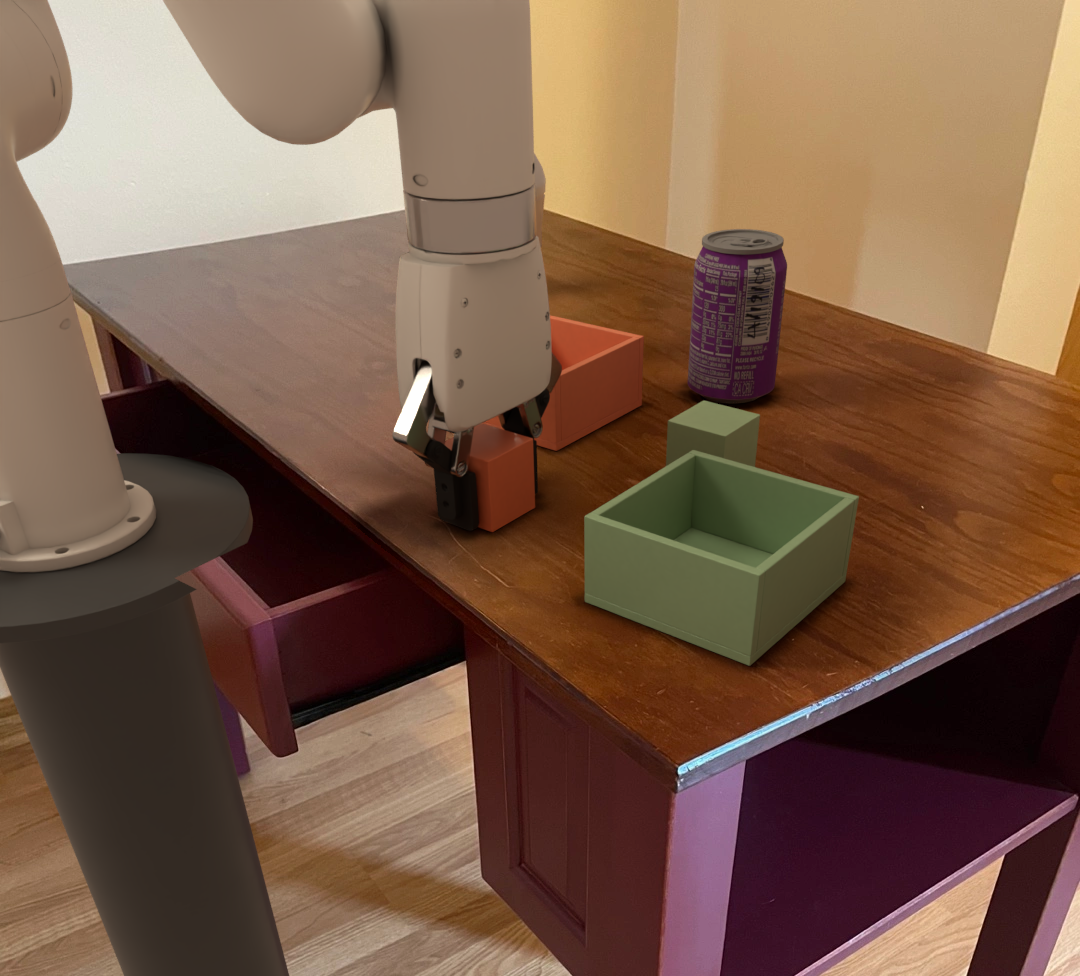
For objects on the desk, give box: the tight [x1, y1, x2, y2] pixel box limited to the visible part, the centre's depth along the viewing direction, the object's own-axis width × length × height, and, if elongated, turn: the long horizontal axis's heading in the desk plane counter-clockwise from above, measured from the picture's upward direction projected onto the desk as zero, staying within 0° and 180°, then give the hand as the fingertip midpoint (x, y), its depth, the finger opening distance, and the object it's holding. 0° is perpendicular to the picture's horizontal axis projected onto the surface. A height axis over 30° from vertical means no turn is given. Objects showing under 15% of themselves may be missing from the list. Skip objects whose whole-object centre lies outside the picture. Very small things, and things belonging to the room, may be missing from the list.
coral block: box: [445, 423, 536, 533], centre depth 72 cm, size 4×4×5 cm
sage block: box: [665, 400, 761, 467], centre depth 74 cm, size 4×4×5 cm
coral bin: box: [483, 314, 645, 452], centre depth 86 cm, size 11×11×6 cm
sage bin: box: [583, 450, 860, 667], centre depth 63 cm, size 11×11×6 cm
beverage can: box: [687, 228, 788, 405], centre depth 86 cm, size 7×7×12 cm
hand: (488, 504), depth 74 cm, fingers open, 5 cm apart
